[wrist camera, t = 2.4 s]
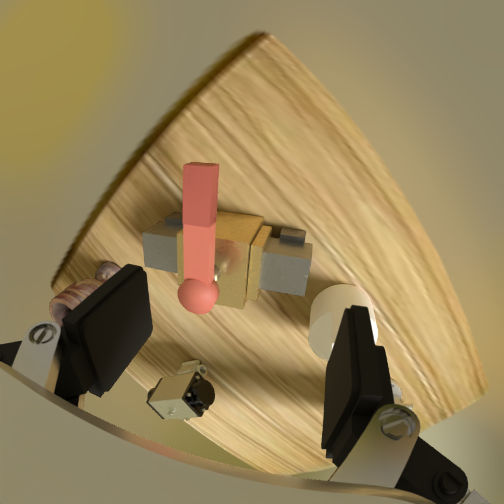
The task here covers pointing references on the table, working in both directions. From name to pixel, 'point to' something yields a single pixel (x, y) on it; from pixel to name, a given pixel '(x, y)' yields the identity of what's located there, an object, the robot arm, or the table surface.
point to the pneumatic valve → (183, 393)
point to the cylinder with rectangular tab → (334, 316)
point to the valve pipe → (236, 256)
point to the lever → (199, 237)
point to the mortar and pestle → (79, 292)
